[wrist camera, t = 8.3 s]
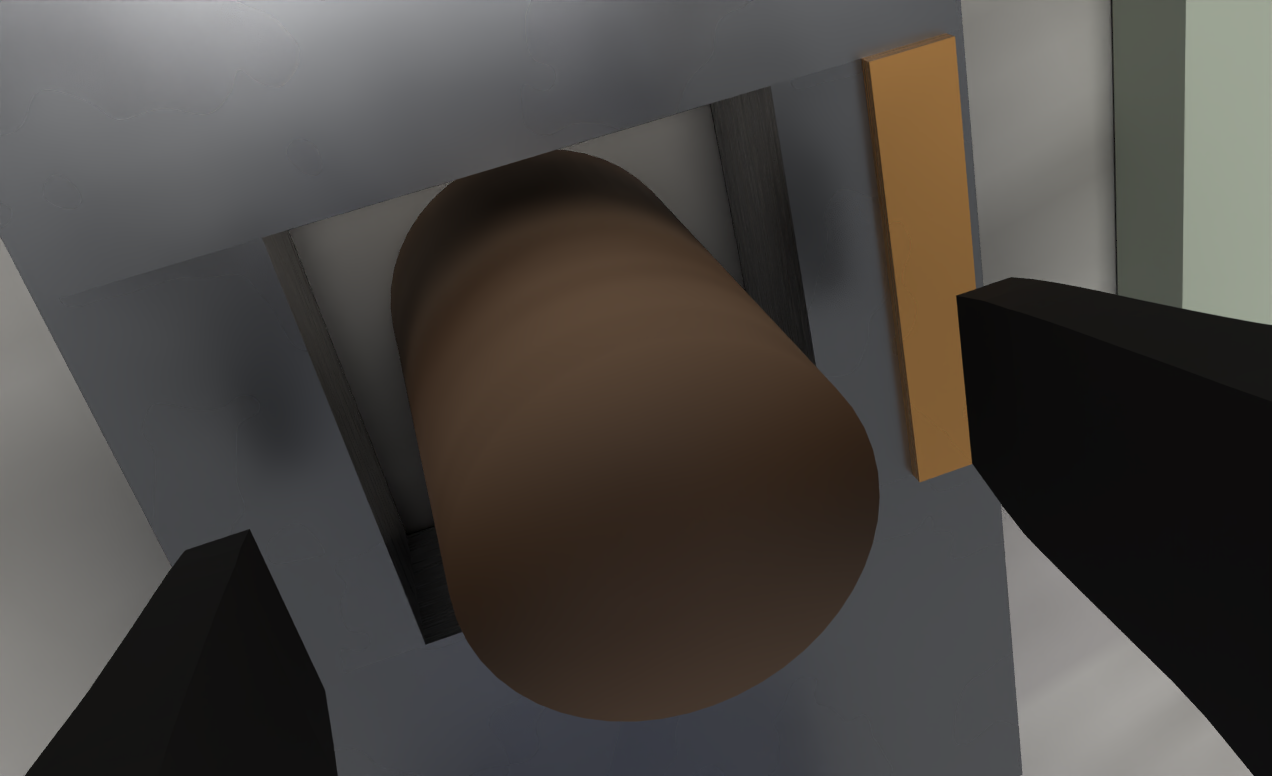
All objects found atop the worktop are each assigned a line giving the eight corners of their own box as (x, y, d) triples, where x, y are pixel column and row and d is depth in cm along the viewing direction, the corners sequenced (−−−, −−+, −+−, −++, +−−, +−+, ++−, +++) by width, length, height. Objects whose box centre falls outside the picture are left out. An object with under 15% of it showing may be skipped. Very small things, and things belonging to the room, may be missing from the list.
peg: (712, 379, 17) (901, 636, 12) (443, 469, 17) (517, 776, 11) (654, 110, 15) (849, 275, 10) (347, 203, 15) (383, 427, 9)
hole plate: (945, 672, 21) (1029, 783, 18) (390, 879, 20) (406, 1026, 17) (791, -628, 12) (914, -730, 10) (-232, -406, 11) (-372, -461, 8)
